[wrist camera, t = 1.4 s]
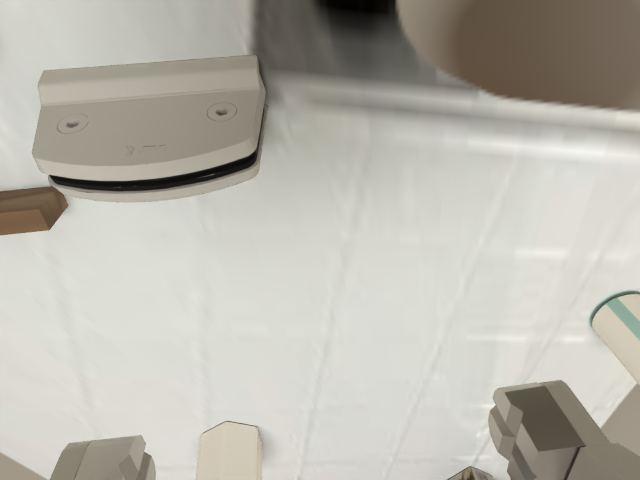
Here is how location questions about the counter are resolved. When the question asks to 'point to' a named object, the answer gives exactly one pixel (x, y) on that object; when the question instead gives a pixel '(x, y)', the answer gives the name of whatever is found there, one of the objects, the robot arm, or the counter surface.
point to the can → (621, 330)
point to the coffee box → (472, 475)
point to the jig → (30, 209)
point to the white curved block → (151, 128)
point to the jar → (230, 453)
